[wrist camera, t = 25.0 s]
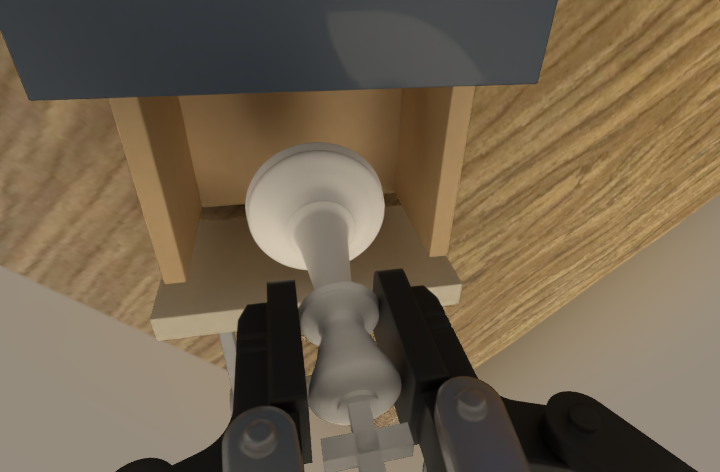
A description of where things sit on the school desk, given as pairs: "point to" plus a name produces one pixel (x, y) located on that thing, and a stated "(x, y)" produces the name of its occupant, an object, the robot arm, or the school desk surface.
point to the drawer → (243, 159)
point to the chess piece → (333, 291)
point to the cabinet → (270, 45)
